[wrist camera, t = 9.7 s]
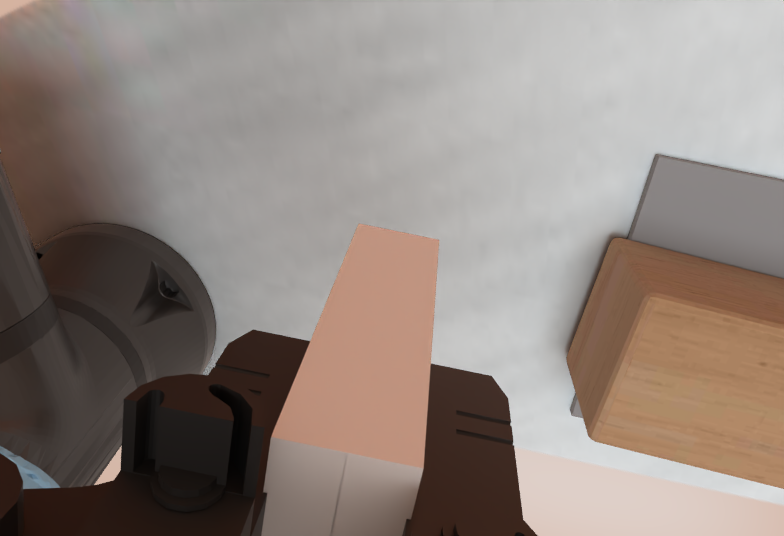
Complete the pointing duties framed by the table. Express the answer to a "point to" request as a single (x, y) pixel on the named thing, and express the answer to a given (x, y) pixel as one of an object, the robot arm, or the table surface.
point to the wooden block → (684, 361)
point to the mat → (711, 217)
